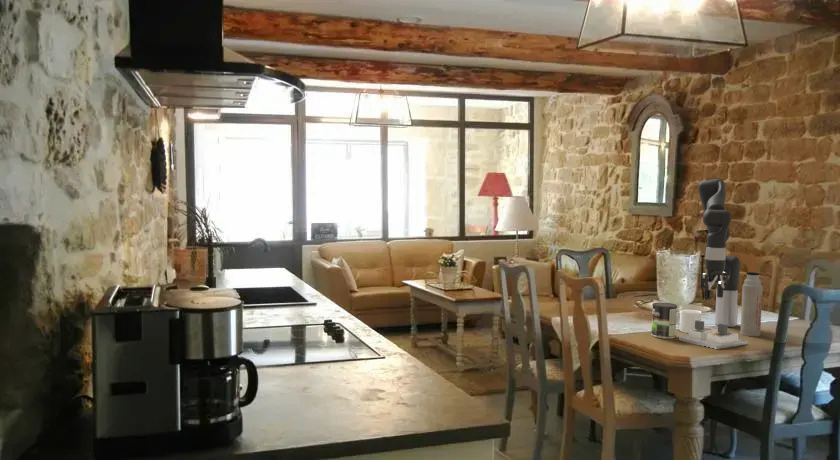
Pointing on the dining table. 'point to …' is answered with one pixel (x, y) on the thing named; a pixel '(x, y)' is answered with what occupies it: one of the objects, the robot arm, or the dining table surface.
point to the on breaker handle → (699, 325)
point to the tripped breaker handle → (722, 328)
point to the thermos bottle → (751, 305)
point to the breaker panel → (710, 344)
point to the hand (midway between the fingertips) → (713, 297)
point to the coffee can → (664, 320)
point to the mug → (688, 319)
